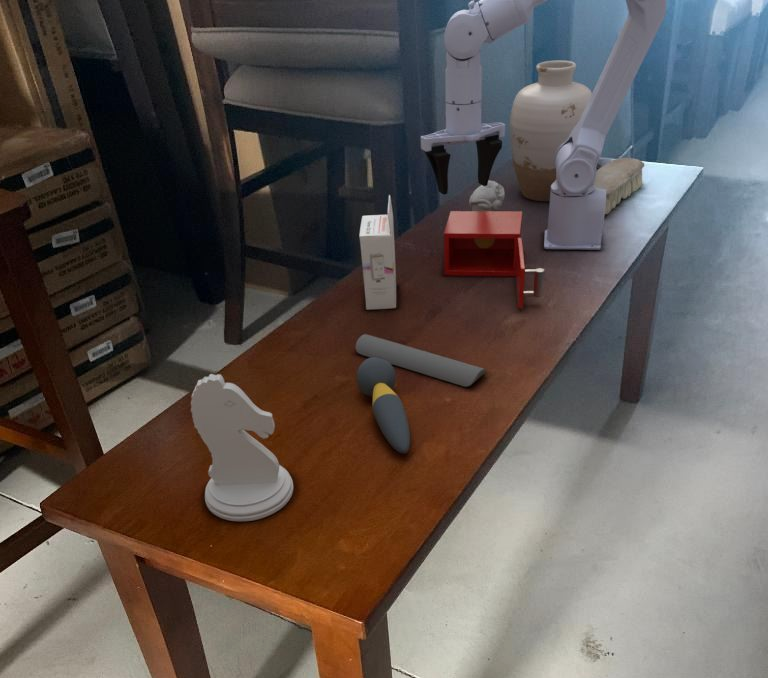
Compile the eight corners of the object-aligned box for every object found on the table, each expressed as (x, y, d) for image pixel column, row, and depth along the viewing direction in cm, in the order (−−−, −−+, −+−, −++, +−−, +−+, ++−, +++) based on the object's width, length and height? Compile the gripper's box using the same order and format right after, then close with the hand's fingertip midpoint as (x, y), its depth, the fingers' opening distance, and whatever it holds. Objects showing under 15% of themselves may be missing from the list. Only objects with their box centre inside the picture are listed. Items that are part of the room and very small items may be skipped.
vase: (490, 197, 155) (494, 68, 140) (536, 176, 163) (544, 52, 148) (558, 212, 146) (569, 77, 131) (602, 189, 154) (618, 59, 140)
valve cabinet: (520, 252, 133) (522, 211, 128) (517, 276, 125) (519, 233, 121) (450, 251, 135) (450, 211, 130) (444, 275, 127) (443, 233, 123)
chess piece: (289, 519, 82) (267, 399, 72) (198, 524, 83) (164, 405, 73) (297, 464, 90) (277, 348, 80) (213, 468, 90) (184, 354, 80)
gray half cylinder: (472, 390, 100) (472, 378, 99) (353, 353, 109) (352, 341, 108) (488, 375, 102) (489, 363, 101) (371, 340, 112) (370, 329, 111)
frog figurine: (510, 220, 145) (512, 181, 140) (481, 229, 142) (482, 190, 137) (489, 211, 149) (490, 174, 144) (461, 220, 146) (461, 182, 141)
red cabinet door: (515, 275, 125) (517, 237, 121) (538, 275, 124) (541, 237, 120) (518, 308, 116) (520, 268, 112) (542, 308, 115) (546, 268, 111)
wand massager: (435, 453, 90) (434, 417, 86) (394, 463, 89) (392, 427, 86) (384, 373, 104) (382, 340, 101) (349, 381, 103) (346, 347, 100)
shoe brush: (603, 222, 141) (607, 194, 138) (565, 216, 144) (568, 189, 141) (648, 183, 156) (652, 156, 152) (612, 178, 159) (615, 152, 156)
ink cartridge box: (366, 287, 126) (359, 194, 116) (397, 285, 125) (392, 192, 116) (364, 310, 119) (356, 214, 110) (396, 309, 119) (391, 213, 109)
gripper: (433, 112, 118) (434, 203, 127) (516, 98, 122) (512, 187, 131) (414, 103, 123) (417, 191, 132) (494, 90, 127) (491, 176, 136)
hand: (463, 188), depth 132 cm, fingers open, 7 cm apart
